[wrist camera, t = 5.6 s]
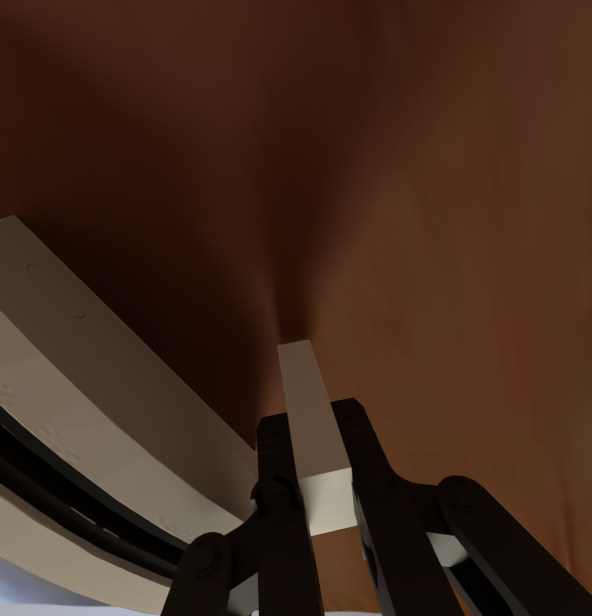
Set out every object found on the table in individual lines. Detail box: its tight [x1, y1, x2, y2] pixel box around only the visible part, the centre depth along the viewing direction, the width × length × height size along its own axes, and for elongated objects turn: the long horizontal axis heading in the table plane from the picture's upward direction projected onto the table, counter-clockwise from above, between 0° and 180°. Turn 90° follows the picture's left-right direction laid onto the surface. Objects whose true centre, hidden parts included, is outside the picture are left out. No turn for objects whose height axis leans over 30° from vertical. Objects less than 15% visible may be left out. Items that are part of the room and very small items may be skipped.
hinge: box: [0, 215, 258, 615], centre depth 12 cm, size 17×5×10 cm, turn 30°
